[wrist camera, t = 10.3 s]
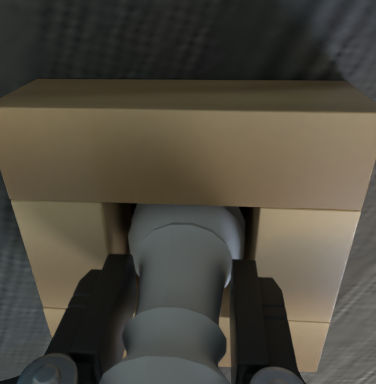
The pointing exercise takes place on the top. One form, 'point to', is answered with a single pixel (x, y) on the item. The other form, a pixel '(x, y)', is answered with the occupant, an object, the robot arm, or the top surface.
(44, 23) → the top surface
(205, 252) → the rook chess piece
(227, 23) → the top surface
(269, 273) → the holder
